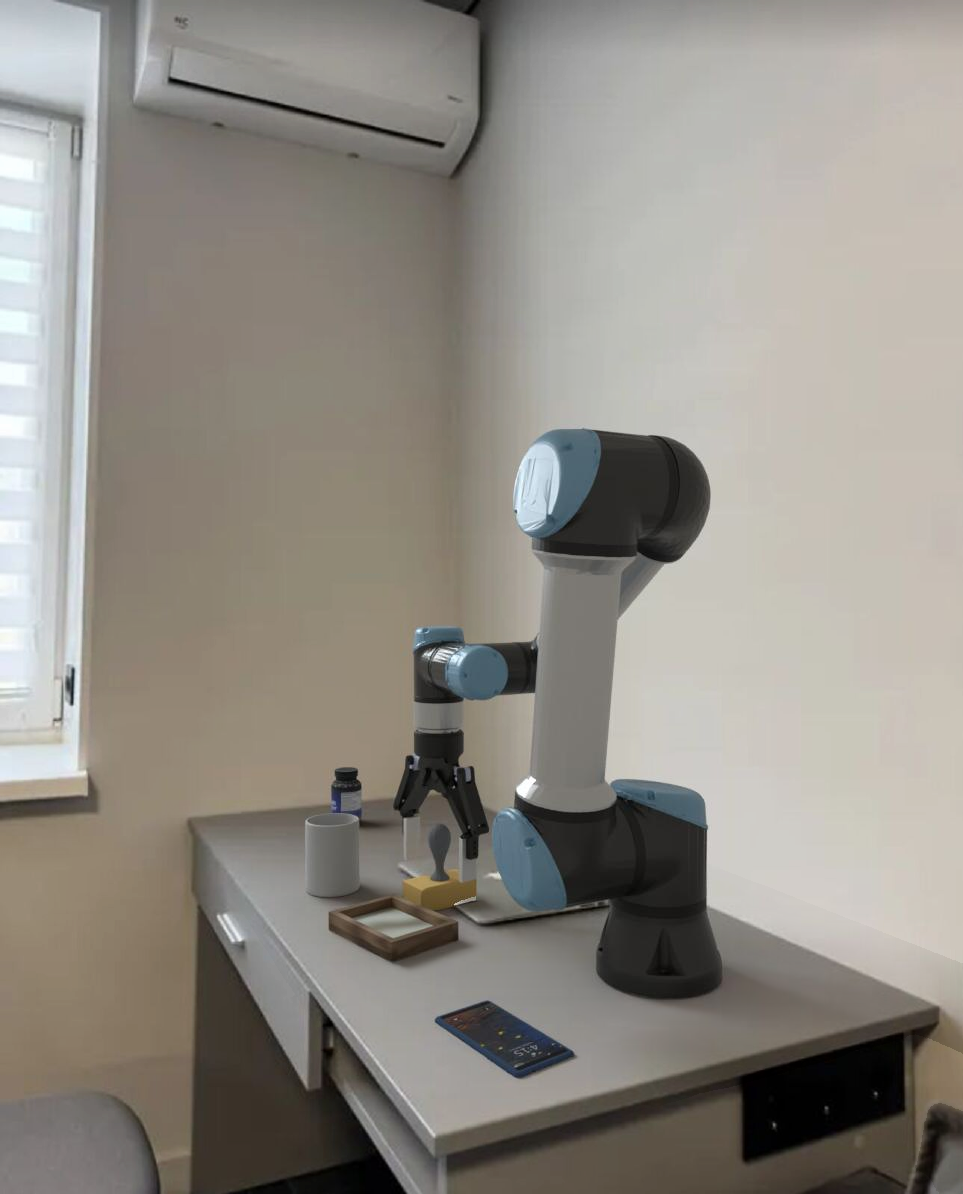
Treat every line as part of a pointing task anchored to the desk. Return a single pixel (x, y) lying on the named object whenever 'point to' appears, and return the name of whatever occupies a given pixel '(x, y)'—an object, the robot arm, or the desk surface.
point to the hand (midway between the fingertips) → (438, 869)
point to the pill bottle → (346, 792)
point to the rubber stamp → (439, 877)
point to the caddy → (393, 927)
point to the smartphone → (504, 1038)
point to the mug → (332, 855)
